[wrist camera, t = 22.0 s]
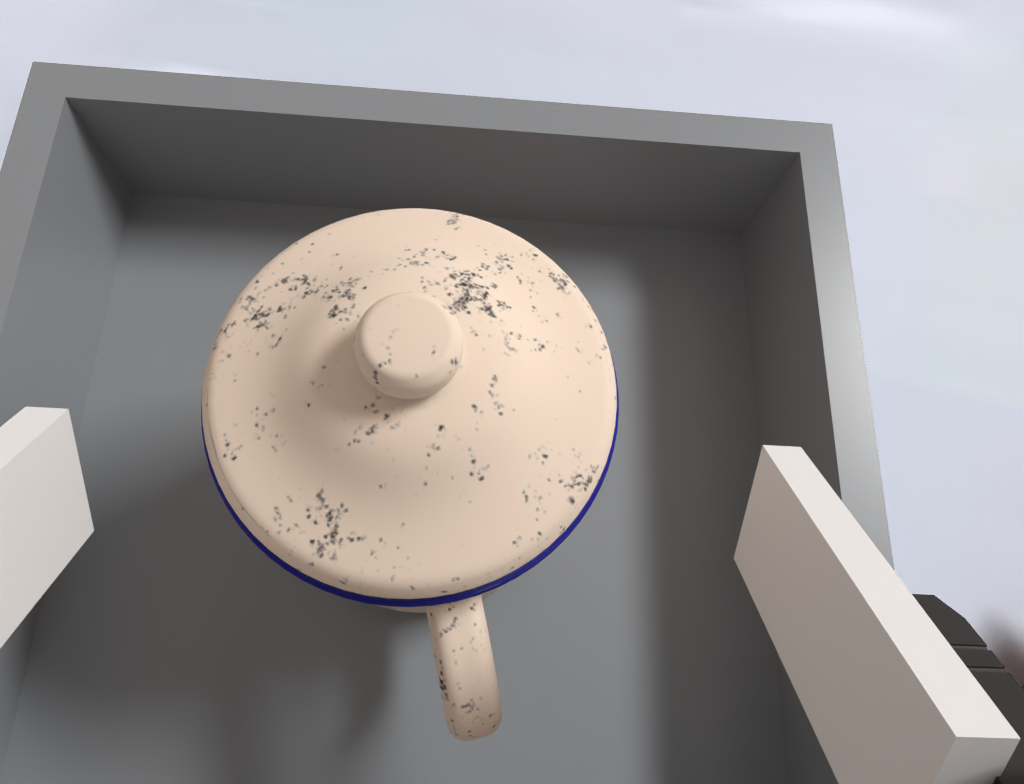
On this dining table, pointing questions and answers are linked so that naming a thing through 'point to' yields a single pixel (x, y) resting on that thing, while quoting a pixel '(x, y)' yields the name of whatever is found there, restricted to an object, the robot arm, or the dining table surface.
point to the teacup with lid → (412, 422)
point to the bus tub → (519, 603)
